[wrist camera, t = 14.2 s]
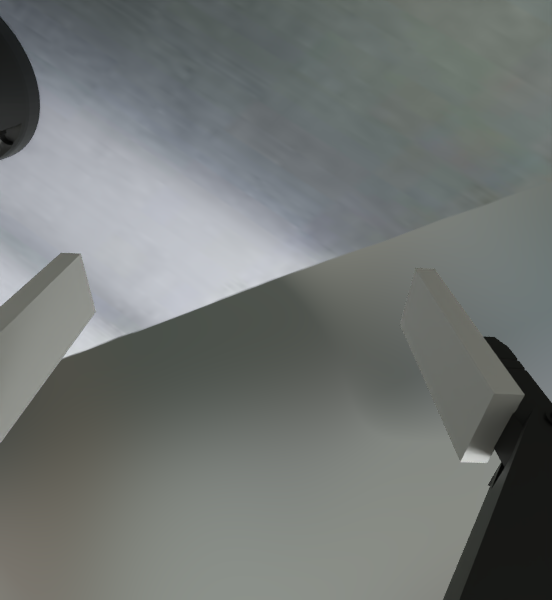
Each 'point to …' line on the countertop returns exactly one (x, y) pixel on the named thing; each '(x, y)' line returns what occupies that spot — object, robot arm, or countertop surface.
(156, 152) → the countertop surface
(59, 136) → the countertop surface
